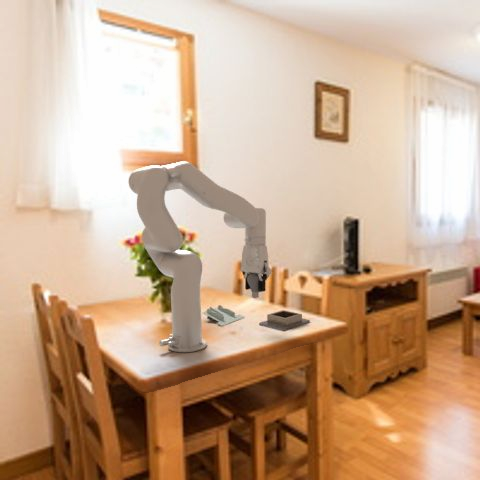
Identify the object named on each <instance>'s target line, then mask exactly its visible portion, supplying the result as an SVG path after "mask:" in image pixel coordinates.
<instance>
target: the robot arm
mask: <svg viewBox="0 0 480 480" xmlns="http://www.w3.org/2000/svg"><path fill="white" fill-rule="evenodd" d="M127 183H128V187H129V188H130V190H131V192H132V193H134V194H136V195H137V198H136V210H137V213H138V216H139V218H140V220H141V222H142V224H143V225H144V228H143V230H142V233H141V241H142V244H143V247H144V248H145V250H146V251H147V253H148V255H149V257H150V258H151V260H152V261H153V263H154V264H155V266H156V268H158V270H159V271H160V272H161V273H162V274H163V276H166V277H170V278H173V279H172V280H173V281H172V283H171V284H172V285H171V290H170V303H171V306H170V307H171V331H172V332H171V333H170V334H169V336H168V337H167V338H166V339H161V340H159V343H158V344H159V346H160V348H161V347H165V346H167V348H168V350H170V351H172V352H176V353H192V352H197V351H200V350H203V349H205V348H206V347H207V344H208V342H207V340H205V338H203V337H202V307H201V306H202V304H201V300H202V299H201V281H202V274H203V262H202V259H201V258H200V256H199V255H198V254H196V253H195V252H194V251H191V250H186V249H184V250H183V249H181V247H182V245H183V243H184V238H183V234H182V232H181V230H180V228H179V227H178V225H177V224H176V221H175V220H174V219H173V217H172V216H171V212H169V210H168V208H167V205H166V202H165V201H166V200H165V197H166V192H169V191H172V190H174V191H175V190H182V191H183V192H184V193H186V194H187V195H188V196H189V197H191V198H192V199H194V200H195V201H196V202H198V203H199V204H201V205H202V206H204V207H206V208H209V209H211V210H216V211H220V212H223V221H224V223H225V225H226V226H228V227H229V228H232V229H245V230H244V231H245V232H244V234H245V235H244V236H245V237H244V242H245V244H244V245H243V247H242V253H241V265H240V267H239V269H240V272H241V273H242V275H243V279H245V280H244V281H245V288H244V289H245V290H251V288H250V286H249V284H248V281H247V278H248V275H249V274H250V273H258V276H259V280H260V281H258V291H259V293H262V292H265V291H266V281H267V280H268V278H269V277H270V275H271V274H272V273H273V271H272V269H271V268H270V266H269V253H268V246H267V240H266V239H267V237H266V235H267V234H266V232H267V229H266V226H267V223H266V222H267V221H266V219H267V218H266V217H267V213H266V209H264V208H262V207H255V205H253V204H252V203H250V201H248V200H247V199H245V198H244V197H243V196H241V195H239V194H237V193H236V192H233V191H230V189H229V190H228V189H227V188H225V187H223V186H221V185H219V184H218V183H216V182H215V181H214V180H212V179H211V178H210V177H208V176H207V175H206V174H205V173H203V172H202V171H201V170H200V169H198V168H197V167H196V166H195V165H194V164H192V163H191V162H188V161H179V162H176V163H171V164H165V165H161V166H160V165H149V166H145V167H141V168H138V169H135V170H133V171H132V173H130V175H129V177H128V182H127Z"/></svg>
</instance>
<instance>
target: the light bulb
mask: <svg viewBox="0 0 480 480" xmlns="http://www.w3.org/2000/svg"><path fill="white" fill-rule="evenodd" d="M247 281H248V284H249V286H250V288H251V289H250V291H251V298H253V299H258V298H259V294H260V292H259V291H258V281H260V280H259V276H258V273H250V274H249V275H248V278H247Z"/></svg>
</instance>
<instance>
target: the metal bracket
mask: <svg viewBox="0 0 480 480" xmlns="http://www.w3.org/2000/svg"><path fill="white" fill-rule="evenodd" d="M202 314H204V315H206V316H207V317H206V319H207V320H209V319H212V320H215V321H217V322H216V324H217V325H218V326H221V327H225V326H228V325H230V324H233V323H235V322H237V321H239V320H240V321H241V320H244V319H245V316H244V315H241V314H237V315H236V313H235V311H233V310H231V309H228V308H225V307H223V305H221V304H220V305H219V304H218V305H217V307H215V308H213V307H211V306H209V308H207V309H206V311H203V312H202Z"/></svg>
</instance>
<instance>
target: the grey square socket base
mask: <svg viewBox="0 0 480 480" xmlns="http://www.w3.org/2000/svg"><path fill="white" fill-rule="evenodd" d="M266 317H267V318H266V319H267V320H264V321H261V322H259V323H258V325H259V326H262V327H265V328H271V329H274V330H277V331H281V332H284V331H287V330H290V329H294V328H297V327H299V326H302V325H305V324H309V323H310V322H311V320H310V319H306V318H303V314H302V313H299V312H294V311H290V310H279V311H276V312H275V311H274V312H273V313H272V312H271V313H268V314H267V316H266Z"/></svg>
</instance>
